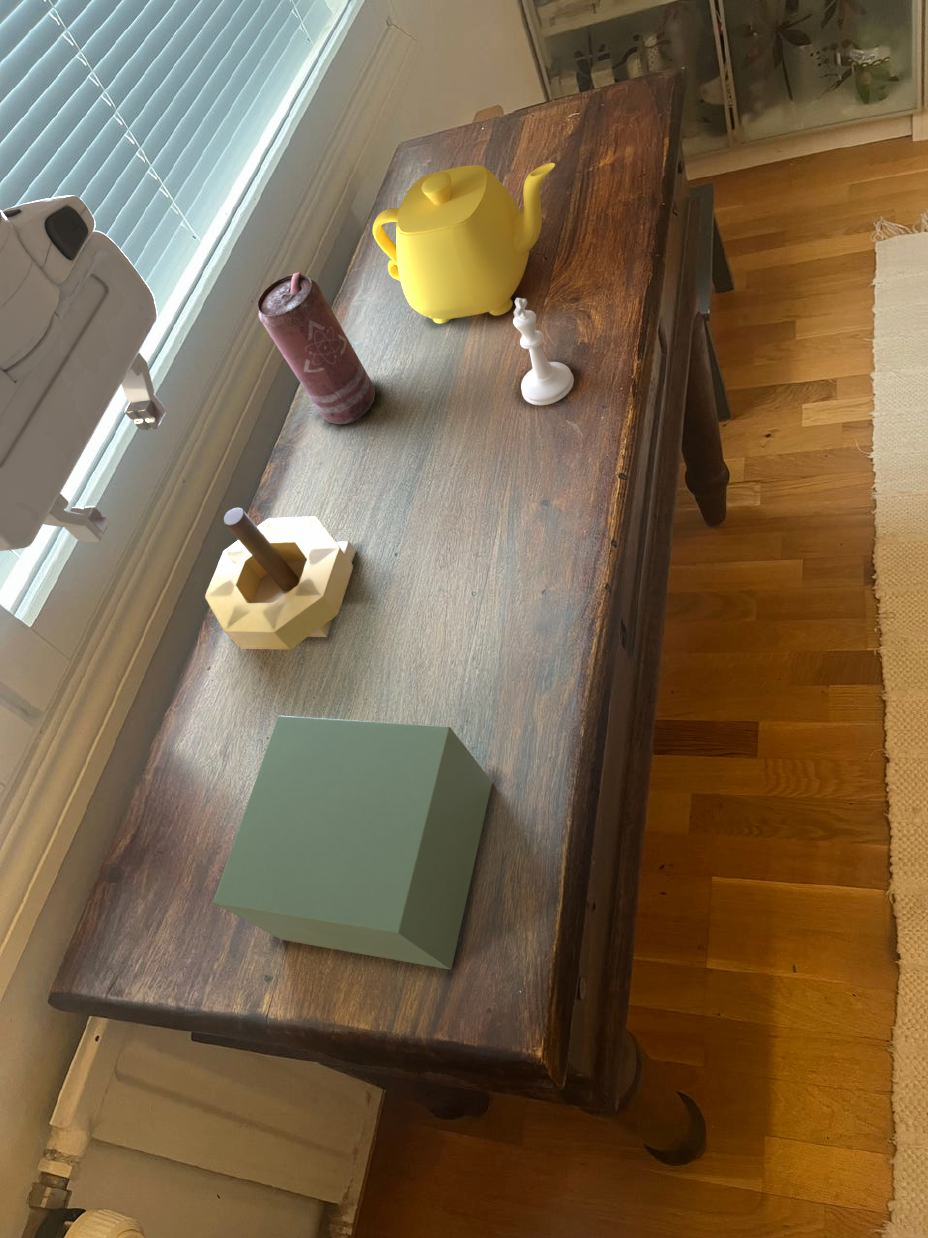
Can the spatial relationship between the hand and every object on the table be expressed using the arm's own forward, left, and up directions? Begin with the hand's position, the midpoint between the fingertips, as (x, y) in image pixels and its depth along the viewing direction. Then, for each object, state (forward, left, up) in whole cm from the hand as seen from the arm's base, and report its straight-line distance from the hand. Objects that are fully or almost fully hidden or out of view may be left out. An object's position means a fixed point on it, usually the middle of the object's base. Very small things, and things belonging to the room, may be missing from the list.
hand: (127, 475), depth 60 cm
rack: (+6, +2, -23) cm, 24 cm away
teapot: (+44, -8, -24) cm, 51 cm away
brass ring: (+6, +2, -22) cm, 23 cm away
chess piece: (+29, -17, -24) cm, 41 cm away
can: (+29, +4, -24) cm, 38 cm away
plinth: (-16, -13, -23) cm, 31 cm away
